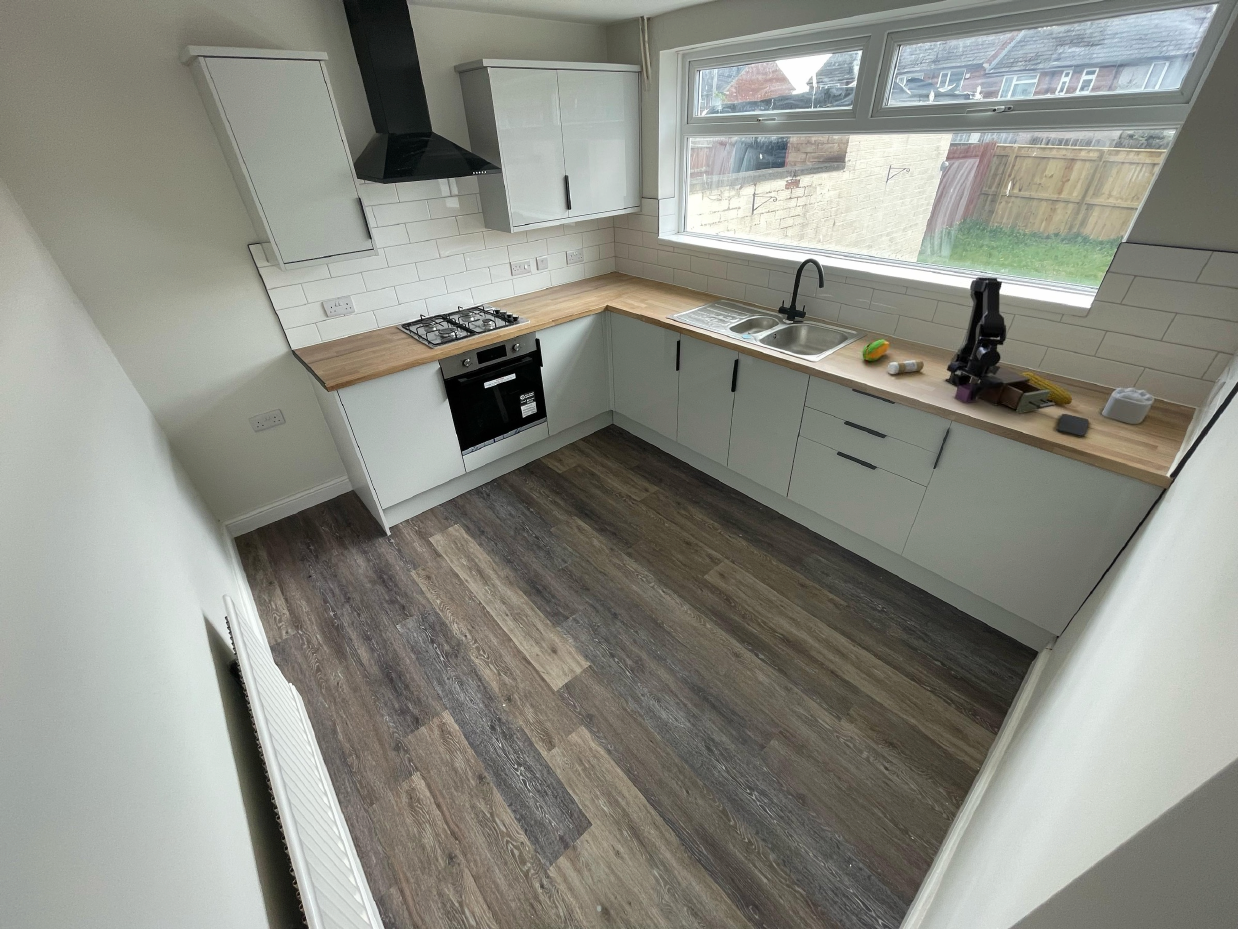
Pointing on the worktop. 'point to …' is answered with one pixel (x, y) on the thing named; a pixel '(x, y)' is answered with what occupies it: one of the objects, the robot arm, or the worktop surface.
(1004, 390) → the drawer
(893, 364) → the sprinkles bottle
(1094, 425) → the worktop surface
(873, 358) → the corn
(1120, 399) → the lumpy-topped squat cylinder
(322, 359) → the worktop surface
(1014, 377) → the cabinet
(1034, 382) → the food
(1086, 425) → the phone
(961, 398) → the block
